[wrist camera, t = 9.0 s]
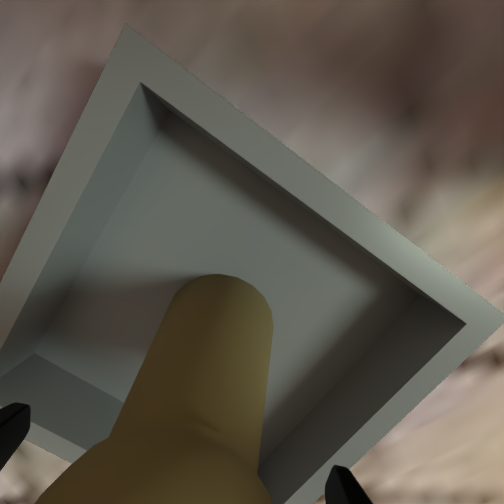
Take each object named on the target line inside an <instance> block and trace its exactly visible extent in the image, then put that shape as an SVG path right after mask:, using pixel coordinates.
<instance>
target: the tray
mask: <svg viewBox="0 0 504 504" xmlns="http://www.w3.org/2000/svg"><path fill="white" fill-rule="evenodd" d="M215 274H223V275H228V276H234V277H238V278H240V279H242V280H244V281H245V282H247V283H249V284H251V285H253V286H254V287H255V288H256V289H257V290H258V291H259V292H260V293H261V294H262V295H263V296H264V297H265V299H266V301H267V303H268V305H269V307H270V309H271V311H272V318H273V326H274V328H273V337H272V346H271V355H270V364H269V373H268V382H267V391H266V400H265V409H264V418H263V427H262V436H261V445H260V454H259V463H258V472H257V475H258V476H259V478H260V480H261V481H262V483H263V485H264V486H265V488H266V489H267V491H268V493H269V494H270V497H271V501H272V504H313V503H314V502H315V501H316V500H317V499H318V498H319V497H320V496H322V495H323V494H324V493H325V484H326V481H327V479H328V476H329V474H330V471H331V469H332V467H333V466H334V465H339V466H344V467H347V468H348V469H350V468H351V467H352V466H353V465H354V464H355V463H356V462H357V461H359V460H360V459H361V458H362V457H363V456H364V455H365V454H366V453H367V452H368V451H369V450H370V449H371V448H372V447H373V446H374V445H375V444H376V443H378V442H379V441H380V440H381V439H382V438H383V437H384V436H385V435H386V434H387V433H388V432H389V431H390V430H391V429H392V428H393V427H394V426H396V425H397V424H398V423H399V422H400V421H401V420H402V419H403V418H404V417H405V416H406V415H407V414H408V413H409V412H410V411H411V410H412V409H413V408H415V407H416V406H417V405H418V404H419V403H420V402H421V401H422V400H423V399H424V398H425V397H426V396H427V395H428V394H429V393H430V392H431V391H432V390H434V389H435V388H436V387H437V386H438V385H439V384H440V383H441V382H442V381H443V380H444V379H445V378H446V377H447V376H448V375H449V374H450V373H452V372H453V371H454V370H455V369H456V368H457V367H458V366H459V365H460V364H461V363H462V362H463V361H464V360H465V359H466V358H467V357H468V356H469V355H471V354H472V353H473V352H474V351H475V350H476V349H477V348H478V347H479V346H480V345H481V344H482V343H483V342H484V341H485V340H486V339H487V338H489V337H490V336H491V335H492V334H493V333H494V332H495V331H496V330H497V329H498V328H499V327H500V326H501V325H502V324H503V323H504V313H503V312H501V311H500V310H499V309H497V308H496V307H495V306H493V305H492V304H491V303H490V302H488V301H487V300H486V299H484V298H483V297H482V296H480V295H479V294H478V293H477V292H475V291H474V290H473V289H471V288H470V287H469V286H467V285H466V284H465V283H464V282H462V281H461V280H460V279H458V278H457V277H456V276H454V275H453V274H452V273H451V272H449V271H448V270H447V269H445V268H444V267H443V266H441V265H440V264H439V263H437V262H436V261H435V260H434V259H432V258H431V257H430V256H428V255H427V254H426V253H424V252H423V251H422V250H421V249H419V248H418V247H417V246H415V245H414V244H413V243H411V242H410V241H409V240H408V239H406V238H405V237H404V236H402V235H401V234H400V233H398V232H397V231H396V230H395V229H393V228H392V227H391V226H389V225H388V224H387V223H385V222H384V221H383V220H382V219H380V218H379V217H378V216H376V215H375V214H374V213H372V212H371V211H370V210H368V209H367V208H366V207H365V206H363V205H362V204H361V203H359V202H358V201H357V200H355V199H354V198H353V197H352V196H350V195H349V194H348V193H346V192H345V191H344V190H342V189H341V188H340V187H339V186H337V185H336V184H335V183H333V182H332V181H331V180H329V179H328V178H327V177H326V176H324V175H323V174H322V173H320V172H319V171H318V170H316V169H315V168H314V167H313V166H311V165H310V164H309V163H307V162H306V161H305V160H303V159H302V158H301V157H300V156H298V155H297V154H296V153H294V152H293V151H292V150H290V149H289V148H288V147H286V146H285V145H284V144H283V143H281V142H280V141H279V140H277V139H276V138H275V137H273V136H272V135H271V134H270V133H268V132H267V131H266V130H264V129H263V128H262V127H260V126H259V125H258V124H257V123H255V122H254V121H253V120H251V119H250V118H249V117H247V116H246V115H245V114H244V113H242V112H241V111H240V110H238V109H237V108H236V107H234V106H233V105H232V104H231V103H229V102H228V101H227V100H225V99H224V98H223V97H221V96H220V95H219V94H218V93H216V92H215V91H214V90H212V89H211V88H210V87H208V86H207V85H206V84H204V83H203V82H202V81H201V80H199V79H198V78H197V77H195V76H194V75H193V74H191V73H190V72H189V71H188V70H186V69H185V68H184V67H182V66H181V65H180V64H178V63H177V62H176V61H175V60H173V59H172V58H171V57H169V56H168V55H167V54H165V53H164V52H163V51H162V50H160V49H159V48H158V47H156V46H155V45H154V44H152V43H151V42H150V41H149V40H147V39H146V38H145V37H143V36H142V35H141V34H139V33H138V32H137V31H136V30H134V29H133V28H132V27H130V26H129V25H128V24H125V26H124V28H123V30H122V32H121V34H120V36H119V38H118V40H117V42H116V44H115V46H114V49H113V51H112V53H111V55H110V57H109V59H108V61H107V63H106V65H105V67H104V69H103V71H102V73H101V75H100V77H99V80H98V82H97V84H96V86H95V88H94V90H93V92H92V94H91V96H90V98H89V100H88V102H87V104H86V106H85V108H84V111H83V113H82V115H81V117H80V119H79V121H78V123H77V125H76V127H75V129H74V131H73V133H72V135H71V137H70V139H69V142H68V144H67V146H66V148H65V150H64V152H63V154H62V156H61V158H60V160H59V162H58V164H57V166H56V168H55V170H54V173H53V175H52V177H51V179H50V181H49V183H48V185H47V187H46V189H45V191H44V193H43V195H42V197H41V199H40V201H39V204H38V206H37V208H36V210H35V212H34V214H33V216H32V218H31V220H30V222H29V224H28V226H27V228H26V230H25V232H24V235H23V237H22V239H21V241H20V243H19V245H18V247H17V249H16V251H15V253H14V255H13V257H12V259H11V261H10V263H9V266H8V268H7V270H6V272H5V274H4V276H3V278H2V280H1V282H0V409H1V408H3V407H5V406H7V405H9V404H11V403H15V402H19V403H24V404H28V405H30V407H31V424H30V429H29V432H28V434H27V436H26V437H25V440H27V441H29V442H31V443H33V444H35V445H37V446H39V447H41V448H43V449H45V450H47V451H49V452H51V453H53V454H55V455H56V456H58V457H60V458H62V459H64V460H66V461H68V462H70V463H72V464H73V463H74V462H75V461H76V460H77V459H78V458H79V457H81V456H82V455H83V454H84V453H85V452H86V451H88V450H89V449H90V448H91V447H92V446H93V445H95V444H97V443H99V442H101V441H103V440H105V439H107V438H108V437H109V435H110V433H111V430H112V428H113V426H114V424H115V422H116V420H117V417H118V415H119V413H120V411H121V409H122V406H123V404H124V402H125V400H126V398H127V396H128V393H129V391H130V389H131V387H132V385H133V383H134V380H135V378H136V376H137V374H138V372H139V369H140V367H141V365H142V363H143V361H144V359H145V356H146V354H147V352H148V350H149V348H150V346H151V343H152V341H153V339H154V337H155V335H156V333H157V330H158V328H159V326H160V324H161V322H162V319H163V317H164V315H165V313H166V311H167V309H168V307H169V305H170V303H171V301H172V299H173V297H174V295H175V294H176V293H177V292H178V291H179V290H180V289H181V288H182V287H183V286H184V285H185V284H186V283H188V282H190V281H192V280H194V279H197V278H199V277H201V276H206V275H215Z"/></svg>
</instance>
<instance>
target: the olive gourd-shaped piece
mask: <svg viewBox="0 0 504 504" xmlns="http://www.w3.org/2000/svg"><path fill="white" fill-rule="evenodd" d="M273 328H274V326H273V318H272V311H271V309H270V307H269V305H268V303H267V301H266V299H265V297H264V296H263V295H262V294H261V293H260V292H259V291H258V290H257V289H256V288H255V287H254V286H253V285H251V284H249V283H247V282H245V281H244V280H242V279H240V278H238V277H234V276H228V275H223V274H215V275H206V276H201V277H199V278H197V279H194V280H192V281H190V282H188V283H186V284H185V285H184V286H183V287H182V288H181V289H180V290H179V291H178V292H177V293H176V294H175V295H174V297H173V299H172V301H171V303H170V305H169V307H168V309H167V311H166V313H165V315H164V317H163V319H162V322H161V324H160V326H159V328H158V330H157V333H156V335H155V337H154V339H153V341H152V343H151V346H150V348H149V350H148V352H147V354H146V356H145V359H144V361H143V363H142V365H141V367H140V369H139V372H138V374H137V376H136V378H135V380H134V383H133V385H132V387H131V389H130V391H129V393H128V396H127V398H126V400H125V402H124V404H123V406H122V409H121V411H120V413H119V415H118V417H117V420H116V422H115V424H114V426H113V428H112V430H111V433H110V435H109V437H108V438H107V439H105V440H103V441H101V442H99V443H97V444H95V445H93V446H92V447H91V448H90V449H89V450H88V451H86V452H85V453H84V454H83V455H82V456H81V457H79V458H78V459H77V460H76V461H75V462H74V463H73V464H71V465H70V466H69V467H68V468H67V469H66V470H65V471H64V472H63V473H62V474H61V475H60V476H59V477H58V478H57V479H56V480H55V481H54V482H53V483H52V484H51V485H50V486H49V487H48V488H47V489H46V490H45V491H44V492H43V493H42V495H41V496H40V497H39V499H38V500H37V501H36V503H35V504H272V501H271V497H270V494H269V493H268V491H267V489H266V488H265V486H264V485H263V483H262V481H261V480H260V478H259V476H258V475H257V472H258V463H259V454H260V445H261V436H262V427H263V418H264V409H265V400H266V391H267V382H268V373H269V364H270V355H271V346H272V337H273Z"/></svg>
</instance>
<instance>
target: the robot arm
mask: <svg viewBox="0 0 504 504" xmlns="http://www.w3.org/2000/svg"><path fill="white" fill-rule="evenodd" d="M30 424H31V407H30V405H28V404H24V403H19V402H15V403H11V404H9V405H7V406H5V407H3V408H1V409H0V471H1V470H2V468H3V467H4V466H5V464H6V463H7V462H8V460H9V459H10V457H11V456H12V455H13V453H14V452H15V451H16V449H17V448H18V447H19V445H20V444H21V443H22V441H23V440H24V439H25V437H26V436H27V434H28V432H29V429H30ZM325 500H326V504H373V503H372V501H371V500H370V498H369V497H368V495H367V494H366V493H365V491H364V490H363V488H362V487H361V486H360V484H359V483H358V481H357V480H356V478H355V477H354V476H353V474H352V473H351V471H350V470H349V469H348V468H347V467H344V466H339V465H334V466H333V467H332V469H331V471H330V474H329V476H328V479H327V481H326V484H325Z"/></svg>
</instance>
